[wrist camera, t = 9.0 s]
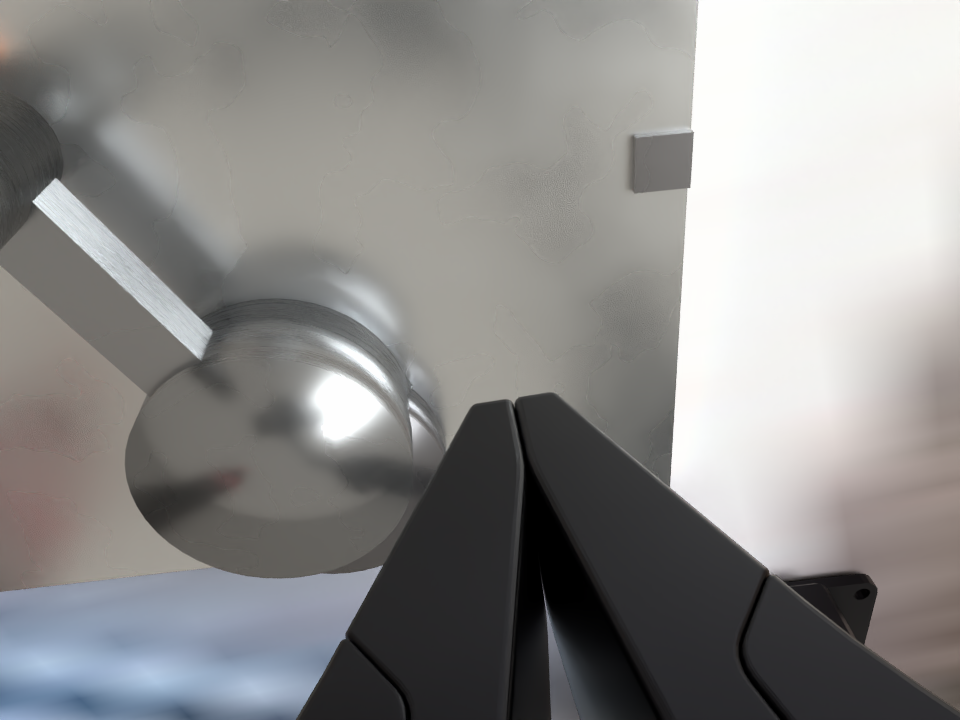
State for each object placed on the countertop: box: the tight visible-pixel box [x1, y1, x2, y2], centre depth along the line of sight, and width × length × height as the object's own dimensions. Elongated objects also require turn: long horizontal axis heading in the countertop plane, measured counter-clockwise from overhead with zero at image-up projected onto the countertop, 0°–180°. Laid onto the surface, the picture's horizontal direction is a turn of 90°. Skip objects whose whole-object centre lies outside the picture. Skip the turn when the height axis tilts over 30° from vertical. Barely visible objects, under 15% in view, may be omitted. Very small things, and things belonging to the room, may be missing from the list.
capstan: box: [0, 89, 447, 578], centre depth 16 cm, size 16×6×7 cm, turn 34°
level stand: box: [0, 0, 698, 592], centre depth 19 cm, size 18×19×2 cm
